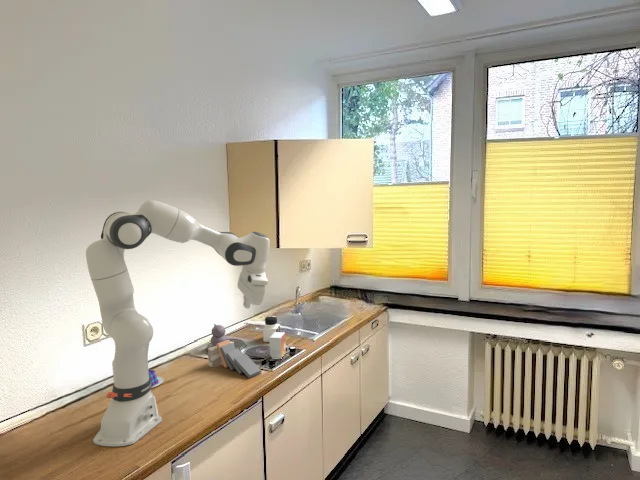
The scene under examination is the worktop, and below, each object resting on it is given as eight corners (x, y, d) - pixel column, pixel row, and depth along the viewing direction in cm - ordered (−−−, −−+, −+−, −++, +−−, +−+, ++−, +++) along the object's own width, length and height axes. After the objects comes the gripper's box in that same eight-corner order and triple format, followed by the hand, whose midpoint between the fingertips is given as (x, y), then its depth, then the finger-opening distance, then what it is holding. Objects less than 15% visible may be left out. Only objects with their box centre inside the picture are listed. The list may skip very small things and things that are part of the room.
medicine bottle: (276, 342, 225) (275, 319, 224) (263, 341, 226) (262, 319, 225) (280, 337, 232) (279, 315, 231) (267, 337, 233) (266, 314, 232)
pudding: (146, 376, 191) (145, 364, 190) (169, 379, 186) (169, 367, 186) (125, 388, 179) (124, 376, 179) (149, 392, 175) (148, 380, 175)
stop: (234, 359, 205) (233, 342, 204) (212, 367, 197) (211, 350, 195) (230, 357, 207) (229, 340, 206) (208, 365, 198) (207, 348, 197)
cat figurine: (229, 350, 216) (228, 326, 214) (213, 353, 213) (211, 329, 211) (225, 344, 224) (224, 321, 222) (209, 347, 220) (208, 324, 219)
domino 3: (261, 370, 188) (245, 353, 194) (249, 375, 184) (234, 358, 190) (259, 373, 189) (244, 356, 195) (248, 378, 185) (233, 361, 191)
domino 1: (243, 364, 196) (232, 342, 200) (232, 368, 192) (221, 346, 195) (241, 366, 197) (230, 344, 201) (230, 370, 193) (219, 348, 196)
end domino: (237, 362, 199) (229, 339, 201) (226, 367, 195) (218, 343, 197) (235, 363, 200) (227, 340, 202) (224, 368, 196) (216, 344, 198)
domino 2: (252, 367, 192) (238, 348, 197) (240, 371, 188) (227, 352, 193) (250, 369, 193) (236, 350, 198) (239, 374, 189) (225, 355, 194)
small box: (281, 360, 202) (280, 338, 201) (269, 359, 203) (268, 337, 202) (286, 353, 210) (285, 332, 209) (275, 353, 211) (274, 331, 210)
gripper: (237, 264, 180) (231, 297, 182) (253, 281, 163) (246, 317, 165) (251, 266, 183) (245, 297, 186) (269, 282, 166) (262, 317, 168)
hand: (246, 307), depth 175 cm, fingers closed
